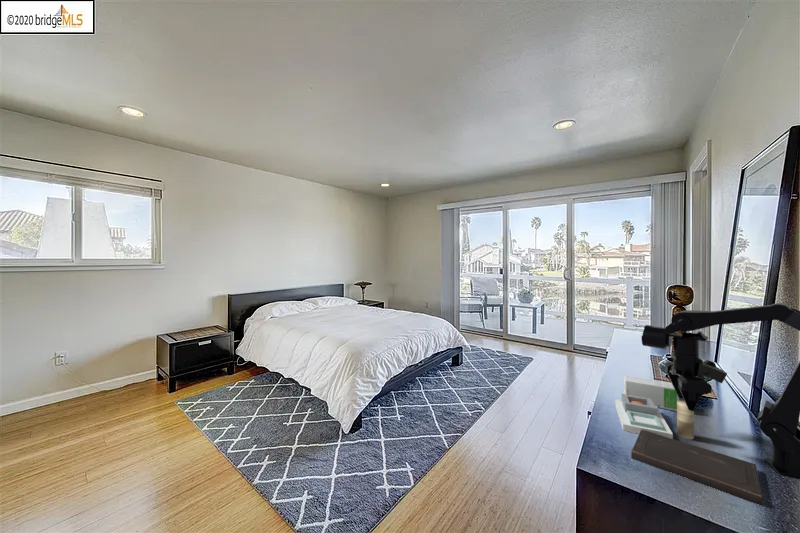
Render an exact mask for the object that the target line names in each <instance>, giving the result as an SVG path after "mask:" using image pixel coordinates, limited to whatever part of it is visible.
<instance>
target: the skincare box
mask: <svg viewBox="0 0 800 533" xmlns="http://www.w3.org/2000/svg"><path fill="white" fill-rule="evenodd" d="M623 378H624V379H623V394H625V395H631V396H638V397H644V398H650V399H651V400H652V401H653V403H654V405H655V406H656V407H657V408H658V409H659V408H660V409H665V410H670V411H674V412H675V411H676V412H677V401H680V398H679V397H678V395H677V393H676V391H675V389H674V387H673V385H672V383H671V381H669V382H668V381H662V380H657V379H649V378H644V377H636V376H630V375H623Z"/></svg>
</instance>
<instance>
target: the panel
mask: <svg viewBox="0 0 800 533" xmlns="http://www.w3.org/2000/svg"><path fill="white" fill-rule="evenodd" d="M631 401H638V402H642V403H644V404H646V405H641V404H635V403H630V402H631ZM614 406H615V410H616V412H617V415H618V419H619V422H620V425H621V428H622V431H623V432H629V433H633V434H638V435H639V434H640V431H641V429H642V430H645V431H648V432H652V433H655V434H658V435H661V436H665V437H668V438H671V439H674V434H673V431H672V430H671V429H670V427H669V425H668V424H667V422H666V420H665V418H664V417H663V415H662V413H661V411H660V410H659V407H656V406H655V405H654V403H653V401H652V400H651V399H650V398H644V397H638V396H631V395H625V394H624V393H621V399H618V398H616V399H614Z"/></svg>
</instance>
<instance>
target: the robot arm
mask: <svg viewBox="0 0 800 533" xmlns="http://www.w3.org/2000/svg"><path fill="white" fill-rule="evenodd" d="M766 321H779V322H781V323H783V324H786V325H787V326H790V327H791V328H793V329H794V330H797V331H800V310H799V309H796V308H793V307H791V306H789V305H787V304H786V303H782V302H781V303H779V302H778V303H772V304H767V305H758V306H757V305H756V306H748V307H741V308H731V309H722V310H696V309H695V310H692V309H691V310H690V309H688V310H685V309H684V310H681V311H678V312H676V313H674V314H673V316H671V322H670V323H669V324H668V325H666V326H665V327H661V326H653V325H649V324H646V325H643V328H644V329H643V332H642V335H641V344H642V346H644V347H650V348H654V349H660V350H661V349H662V350H667V349H668V348H669V347H670V348H671V346H672V349H673V351H672V352H671V353H670V354H671V355H670V356H671V357H672V361H667V362H665V364H664V371H666V374H667V377H668V379H669V380H670V381H669V382H670V383H672V385H673V387H674V389H675V391H676V393H677V395H678V397H679V399H683V401H685V403H686V405H687V407H688V410H690V411H694V412H695V409H696V406H697V405H698V402H699V400H700V399H701V396H704V395H709V394H711V393H712V385H711V384H710V383H709V382H707V380H705V379H704V378H705V377H707V378H709V379H712V380H714V381H716V382H717V383H720V384H723V383H724V381H725V379H726V377H727V376H728V373H727V372H726V371H724V370H723V369H721V368H720V367H717V365H716V364H717V363H715V362H714V361H712V360H709V359H706V360H704V361H703V359H701V358H700V341H702V342H706V341H707V340H709V337H708V336H707V335H705V334H704V333H703V331H701V329H705V328H709V327H712V326H713V327H715V326H721V325H730V324H731V325H732V324H743V323H744V324H745V323H753V322H766ZM696 330H698V331H697V332H692V331H696ZM699 330H700V331H699ZM678 332H682V333H678ZM672 344H673V345H672ZM756 419H757V421H760V422H759V429H760V430H761V432H762V433H763V434H764V435H765V436H766V437H768V438H769V439H770V441H771V443H772V446H771V447H772V448H771V450H772V451H771V455H772V456H771V458H770V457H764V458H765V459H764V460H765V461H766V463H768V464H769V465H770V466H771V467H772V468H773V469H774V471H776V472H777V474H779V475H783V476H789V477H791V478H792V477H793V478H798V479H800V428H799V427H798V426H799V420H800V360H799V361H798V363H797V365H796V367H795V368H794V370H793V372H792V374H791V376H790V378H789V380H788V382H787V384H786V385H785V388H784V389H783V391H782V393H781V394H780V397H779V398H778V399H777V400H776V401H775V402H774V403H772V402H771V401H768V400H765V402H764V406H763V409H762V410H760V411H759V412H758V416H757V418H756Z"/></svg>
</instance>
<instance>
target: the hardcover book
mask: <svg viewBox="0 0 800 533" xmlns="http://www.w3.org/2000/svg"><path fill="white" fill-rule="evenodd" d="M637 436H638V437H637V438H636V440H635V443H634V445H633V447H632V449H631V452H630V453H631V455H630V456H631V459H632V460H635V461H638V462H640V463H644V464H646V465H649V466H650V467H654V468H656V469H659V470H662V471H665V472H667V471H668V473H670V472H672V473H671V474H673V473H675V474H677V475H676V476H678V475H680V476H679V477H681V476H683V477H682V478H684V477H686V478H688V479H687V480H689V479H690V480H689V481H692V480H693V481H692V482H695V483H697V482H698V483H697V484H700V483H701V485H703V484H704V485H703V486H706V485H707V486H706V487H708V486H710V487H709V488H711V487H712V488H711V489H714V488H715V489H714V490H717V489H718V490H717V491H719V490H720V492H722V491H723V492H722V493H725V492H726V493H725V494H727V493H729V494H728V495H730V494H731V496H734V497H736V498H738V497H739V498H738V499H741V498H742V500H744V501H747V502H749V503H752V502H753V504H755V503H756V504H755V505H758V504H759V505H758V506H760V505H762V506H763V495H762V490H761V484H760V478H759V474H758V468H757V464H756V463H753V462H750V461H747V460H743V459H739V458H737V457H733V456H730V455H727V454H723V453H720V452H717V451H713V450H712V449H711V450H710V449H707V448H705V447H701V446H697V445H694V444H691V443H688V442H684V441H681V440H678V439H674V438H673V439H671V438H668V437H665V436H661V435H658V434H655V433H652V432H648V431H645V430H642V429H641V431H640V434H638V435H637ZM675 474H674V475H675ZM686 478H685V479H686Z"/></svg>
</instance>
